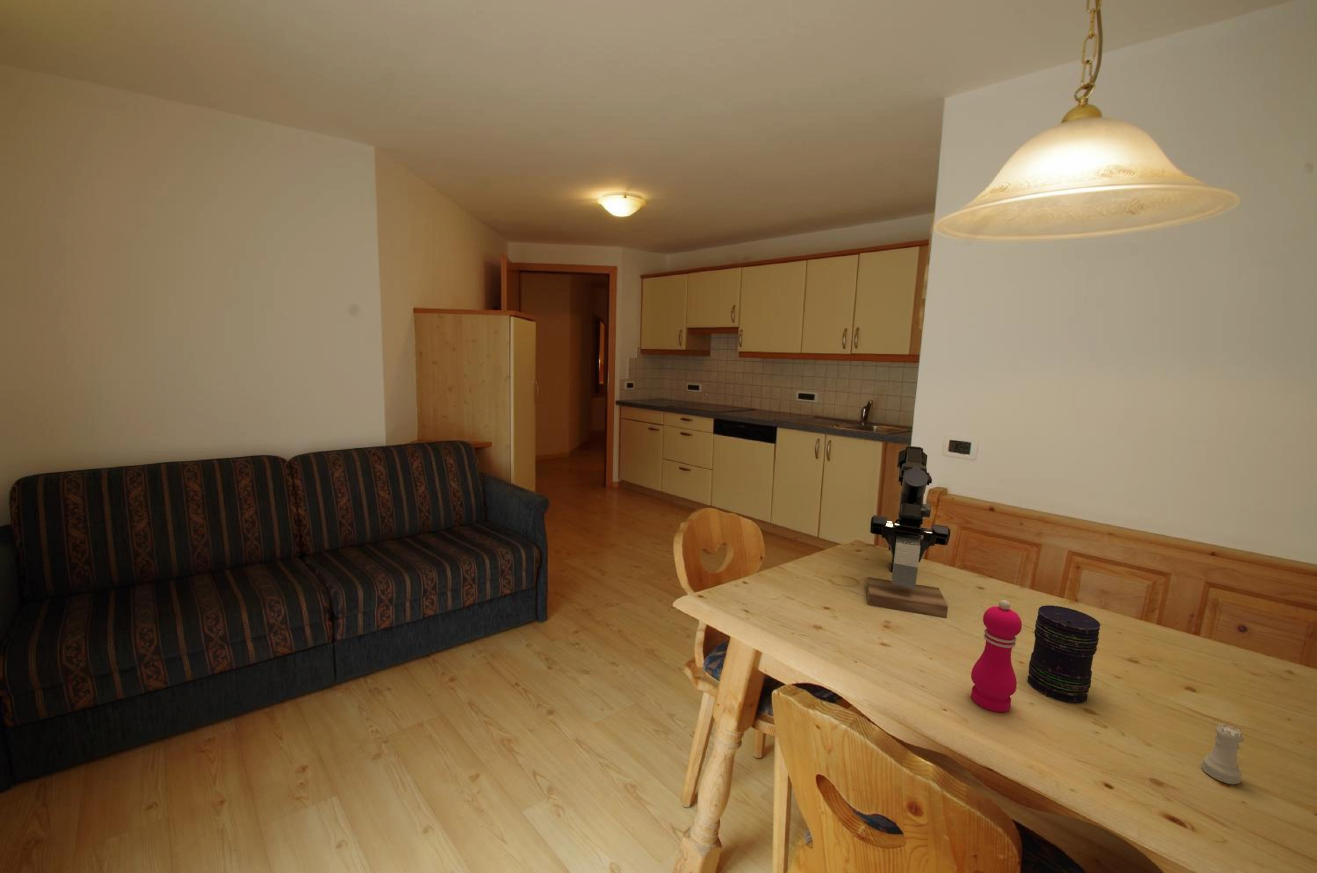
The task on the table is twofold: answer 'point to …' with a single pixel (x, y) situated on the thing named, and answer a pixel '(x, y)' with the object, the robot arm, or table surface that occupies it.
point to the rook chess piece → (1224, 755)
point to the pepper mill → (996, 659)
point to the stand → (906, 597)
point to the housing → (906, 562)
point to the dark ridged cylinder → (1063, 653)
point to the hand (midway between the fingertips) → (906, 559)
